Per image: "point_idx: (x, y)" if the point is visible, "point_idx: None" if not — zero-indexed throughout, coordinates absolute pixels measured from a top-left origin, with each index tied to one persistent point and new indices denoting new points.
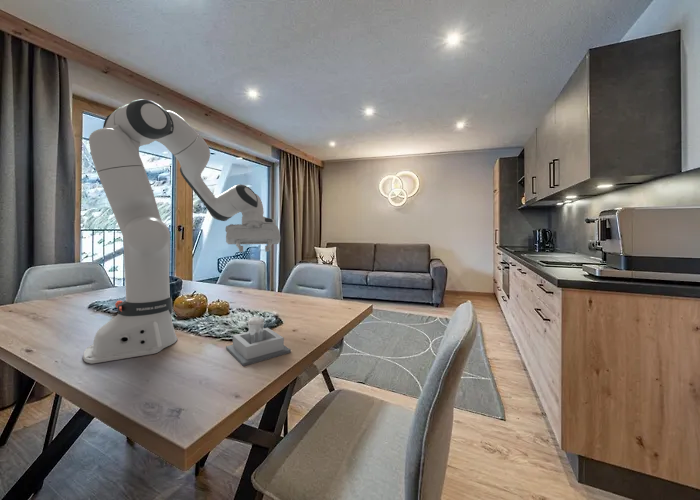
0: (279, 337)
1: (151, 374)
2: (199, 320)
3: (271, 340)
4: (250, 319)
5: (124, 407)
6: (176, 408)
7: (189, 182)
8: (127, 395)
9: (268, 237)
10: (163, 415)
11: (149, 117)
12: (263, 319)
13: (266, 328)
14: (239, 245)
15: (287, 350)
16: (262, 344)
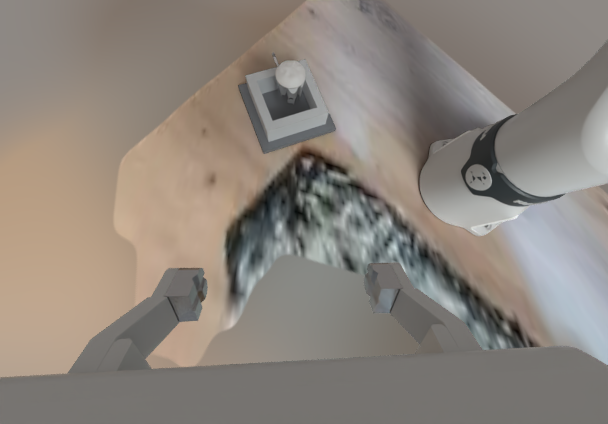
0: (252, 78)
1: (413, 84)
2: None
3: (266, 70)
4: (300, 67)
5: (411, 28)
6: (365, 12)
7: None
8: (418, 48)
9: (78, 389)
10: (373, 6)
11: None
12: (276, 59)
13: (269, 126)
14: (412, 290)
15: (243, 84)
16: None
